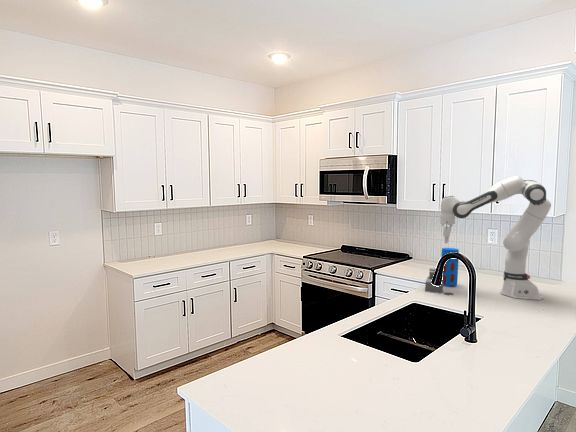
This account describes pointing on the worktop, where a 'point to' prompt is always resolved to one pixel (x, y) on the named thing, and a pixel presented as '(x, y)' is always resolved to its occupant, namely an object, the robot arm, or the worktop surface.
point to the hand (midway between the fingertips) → (446, 242)
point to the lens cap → (448, 293)
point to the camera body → (432, 288)
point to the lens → (431, 272)
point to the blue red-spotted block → (450, 269)
